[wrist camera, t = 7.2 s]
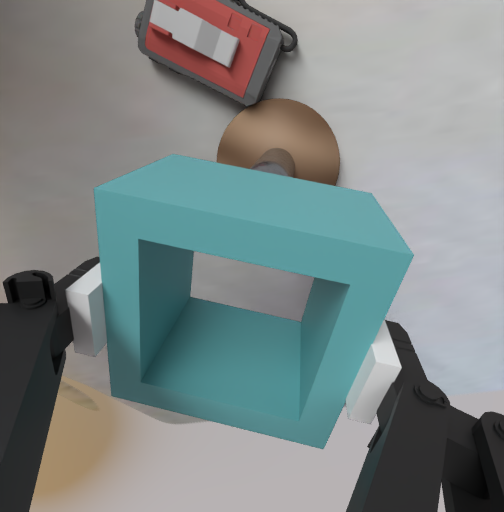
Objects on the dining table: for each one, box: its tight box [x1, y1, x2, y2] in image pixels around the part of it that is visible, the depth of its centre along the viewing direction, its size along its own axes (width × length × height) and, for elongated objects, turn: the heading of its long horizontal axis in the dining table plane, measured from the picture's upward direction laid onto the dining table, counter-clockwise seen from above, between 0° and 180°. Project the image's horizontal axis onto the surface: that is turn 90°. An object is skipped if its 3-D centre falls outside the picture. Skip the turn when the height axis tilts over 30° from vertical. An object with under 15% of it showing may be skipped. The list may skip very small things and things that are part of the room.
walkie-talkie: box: [135, 0, 298, 106], centre depth 26 cm, size 9×4×20 cm
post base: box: [217, 99, 340, 186], centre depth 31 cm, size 12×12×2 cm
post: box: [250, 148, 295, 178], centre depth 24 cm, size 4×4×14 cm
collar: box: [94, 154, 414, 449], centre depth 13 cm, size 9×9×6 cm
